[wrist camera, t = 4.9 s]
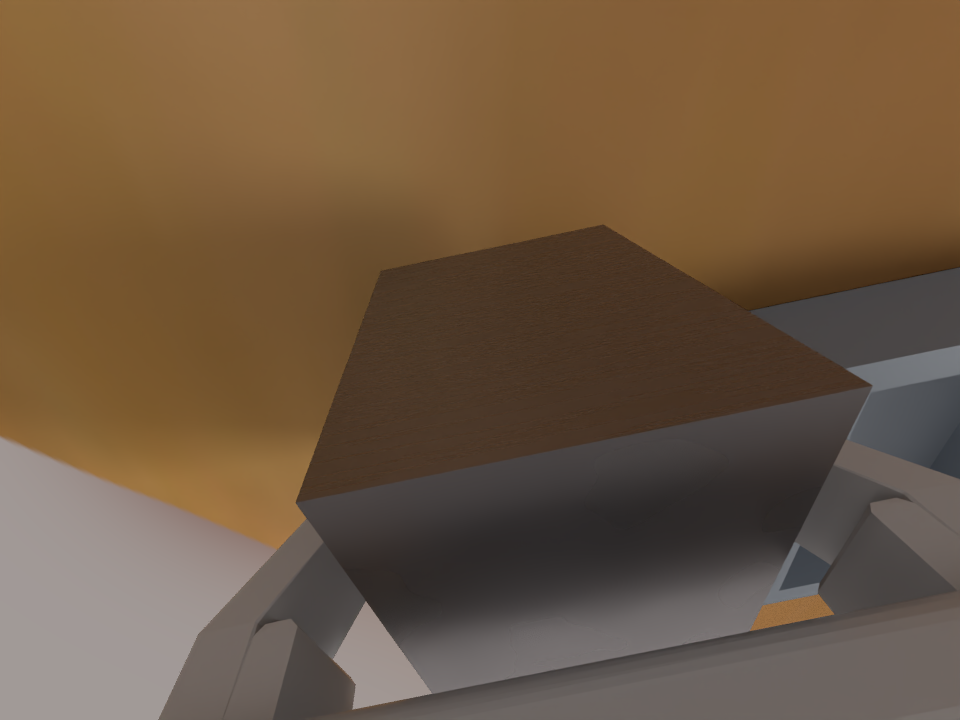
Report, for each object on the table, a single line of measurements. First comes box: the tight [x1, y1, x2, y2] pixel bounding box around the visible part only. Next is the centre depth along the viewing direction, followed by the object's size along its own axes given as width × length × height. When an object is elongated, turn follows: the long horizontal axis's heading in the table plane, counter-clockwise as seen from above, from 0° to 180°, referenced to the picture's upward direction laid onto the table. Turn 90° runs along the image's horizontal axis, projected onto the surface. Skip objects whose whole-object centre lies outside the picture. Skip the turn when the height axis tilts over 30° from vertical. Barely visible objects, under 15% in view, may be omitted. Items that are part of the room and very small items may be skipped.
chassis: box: [749, 267, 960, 605], centre depth 14 cm, size 12×14×4 cm
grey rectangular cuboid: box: [296, 225, 873, 694], centre depth 8 cm, size 7×5×6 cm
